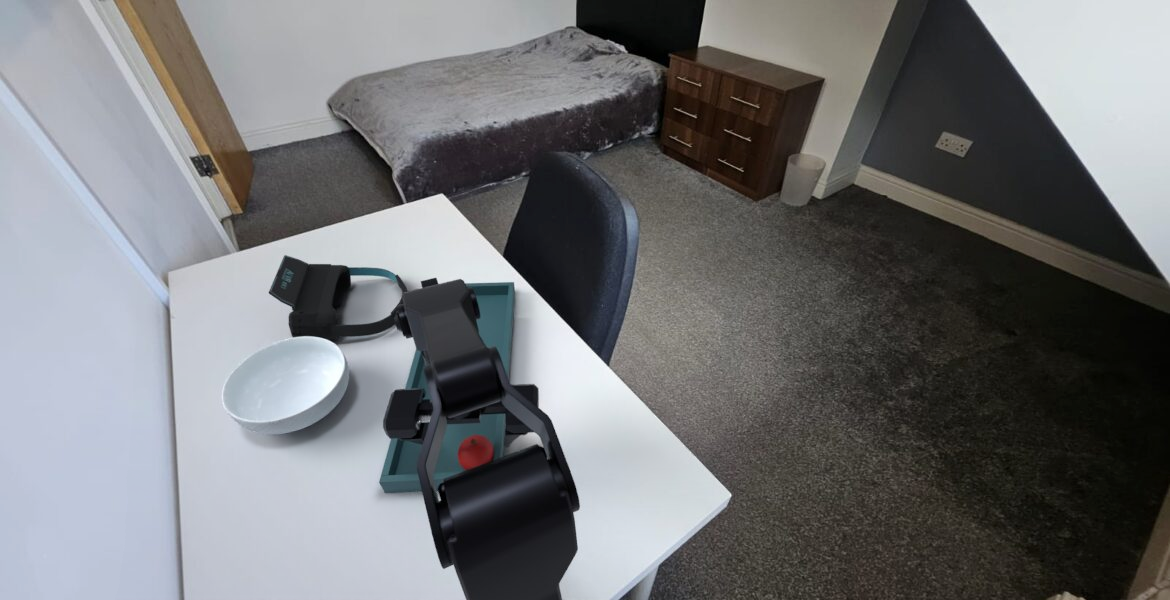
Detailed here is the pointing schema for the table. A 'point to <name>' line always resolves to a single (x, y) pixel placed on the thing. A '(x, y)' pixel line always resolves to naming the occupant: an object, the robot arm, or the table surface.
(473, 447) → the apple
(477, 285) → the tray
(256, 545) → the table surface
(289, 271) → the virtual reality headset
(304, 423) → the cereal bowl
